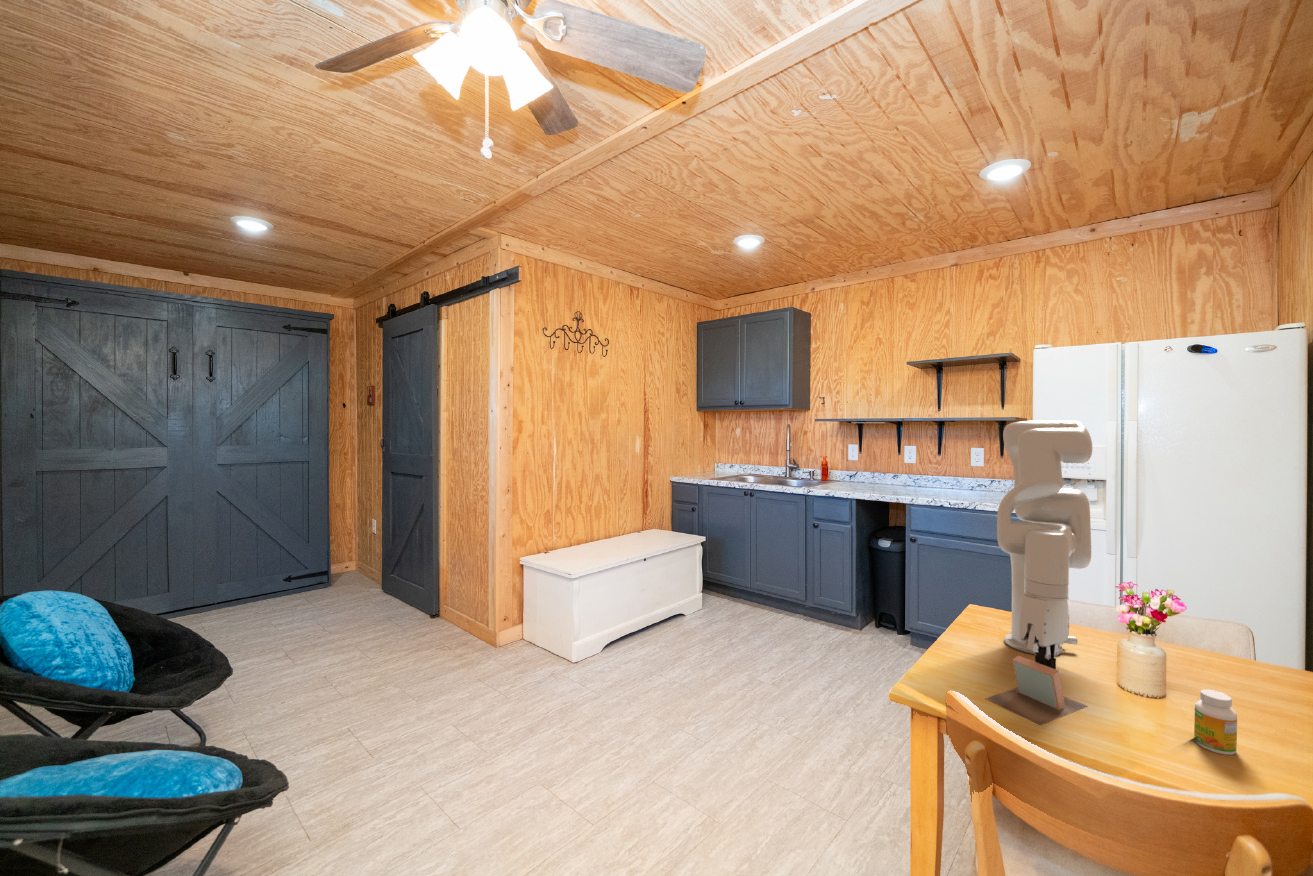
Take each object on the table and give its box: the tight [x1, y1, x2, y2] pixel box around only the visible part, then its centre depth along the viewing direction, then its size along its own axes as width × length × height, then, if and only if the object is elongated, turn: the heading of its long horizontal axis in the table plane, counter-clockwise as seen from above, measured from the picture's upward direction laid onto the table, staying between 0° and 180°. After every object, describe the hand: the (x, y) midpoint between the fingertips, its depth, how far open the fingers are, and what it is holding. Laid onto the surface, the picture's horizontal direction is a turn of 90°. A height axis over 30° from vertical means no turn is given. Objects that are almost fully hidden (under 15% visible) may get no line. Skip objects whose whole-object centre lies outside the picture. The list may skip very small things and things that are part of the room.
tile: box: [1012, 654, 1065, 710], centre depth 112 cm, size 2×8×8 cm, turn 24°
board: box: [984, 687, 1088, 726], centre depth 111 cm, size 16×11×1 cm
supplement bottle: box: [1193, 688, 1238, 756], centre depth 98 cm, size 5×5×10 cm
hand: (1045, 674), depth 112 cm, fingers closed
